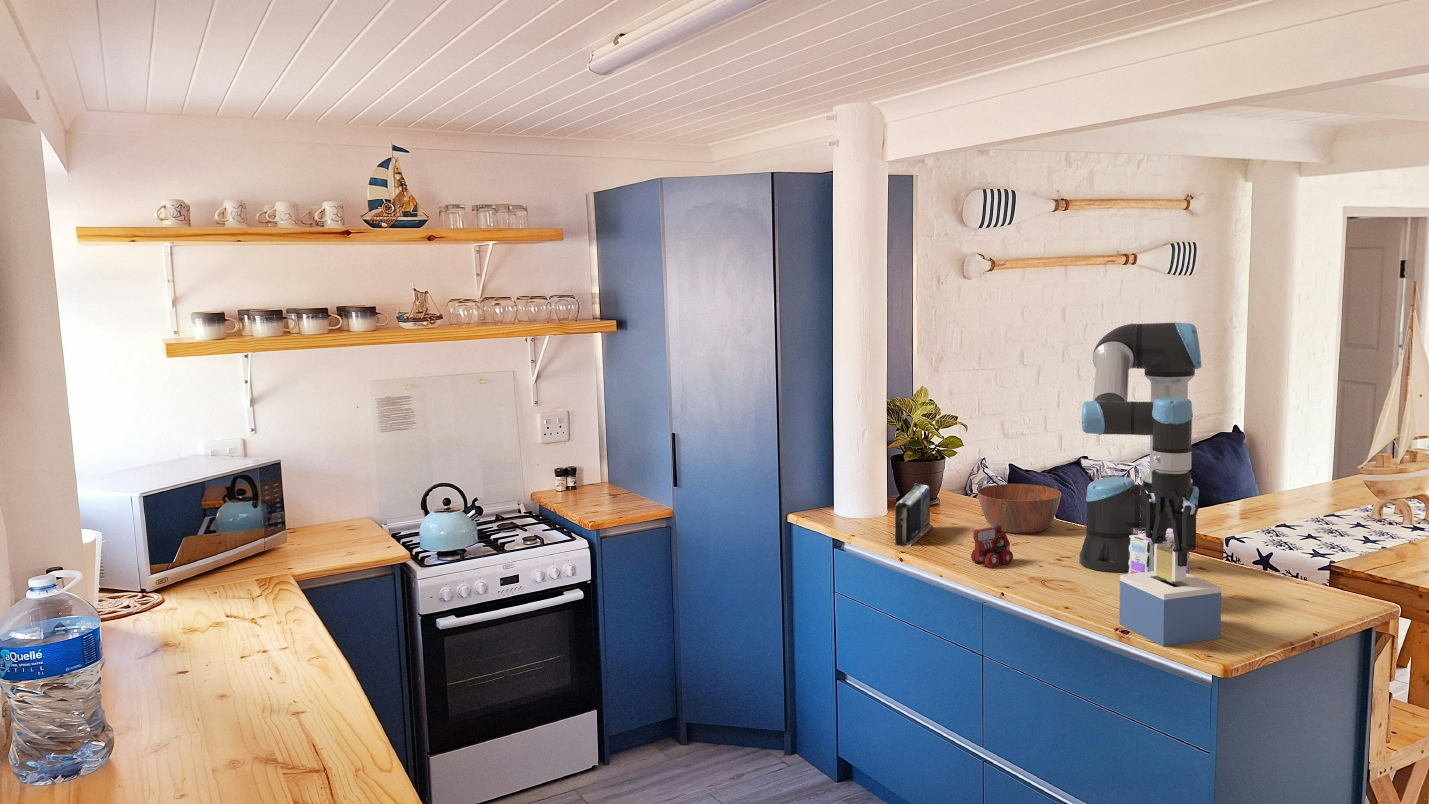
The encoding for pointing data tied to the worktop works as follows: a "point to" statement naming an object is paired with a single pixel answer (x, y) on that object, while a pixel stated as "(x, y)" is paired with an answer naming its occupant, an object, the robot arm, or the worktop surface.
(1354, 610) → the worktop surface
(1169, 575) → the wooden toy block
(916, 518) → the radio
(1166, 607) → the coin box
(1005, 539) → the toy fire truck
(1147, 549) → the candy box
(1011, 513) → the bowl
